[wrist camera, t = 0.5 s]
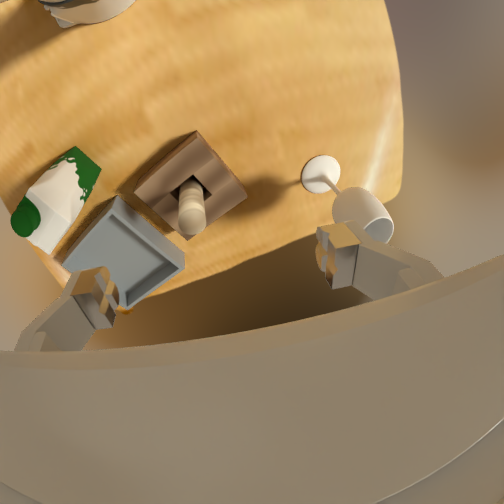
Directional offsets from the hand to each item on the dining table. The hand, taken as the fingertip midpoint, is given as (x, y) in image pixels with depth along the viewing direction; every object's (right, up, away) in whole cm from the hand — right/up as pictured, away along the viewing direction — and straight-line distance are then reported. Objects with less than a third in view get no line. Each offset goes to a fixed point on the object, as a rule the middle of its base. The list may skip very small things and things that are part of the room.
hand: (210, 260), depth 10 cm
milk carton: (-30, +15, +31) cm, 46 cm away
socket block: (-10, +13, +38) cm, 42 cm away
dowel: (-10, +13, +38) cm, 42 cm away
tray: (-27, 0, +45) cm, 52 cm away
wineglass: (+15, +16, +43) cm, 48 cm away
